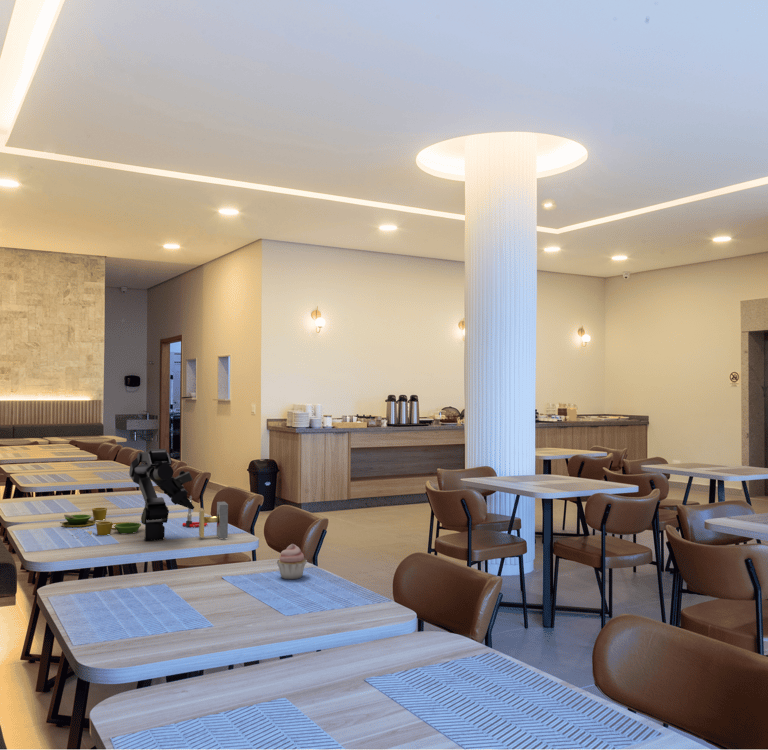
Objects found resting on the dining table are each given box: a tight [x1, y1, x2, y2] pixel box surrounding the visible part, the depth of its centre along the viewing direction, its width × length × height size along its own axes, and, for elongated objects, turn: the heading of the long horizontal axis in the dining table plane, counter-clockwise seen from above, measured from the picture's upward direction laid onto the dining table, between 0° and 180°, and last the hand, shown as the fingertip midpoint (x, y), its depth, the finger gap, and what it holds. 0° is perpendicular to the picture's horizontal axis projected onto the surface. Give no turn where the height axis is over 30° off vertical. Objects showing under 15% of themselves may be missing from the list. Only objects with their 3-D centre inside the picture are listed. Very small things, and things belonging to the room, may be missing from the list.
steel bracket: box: [216, 501, 229, 539], centre depth 272 cm, size 3×8×13 cm, turn 21°
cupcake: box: [276, 543, 308, 580], centre depth 214 cm, size 9×9×10 cm
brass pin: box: [198, 507, 219, 538], centre depth 271 cm, size 10×6×10 cm, turn 111°
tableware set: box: [59, 507, 142, 539], centre depth 290 cm, size 41×28×6 cm
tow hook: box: [182, 495, 208, 529], centre depth 296 cm, size 8×13×9 cm
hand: (193, 508), depth 269 cm, fingers closed
